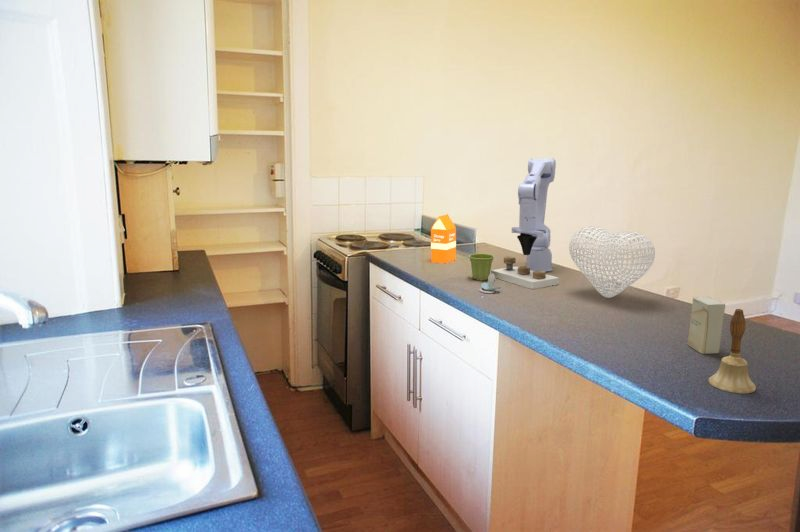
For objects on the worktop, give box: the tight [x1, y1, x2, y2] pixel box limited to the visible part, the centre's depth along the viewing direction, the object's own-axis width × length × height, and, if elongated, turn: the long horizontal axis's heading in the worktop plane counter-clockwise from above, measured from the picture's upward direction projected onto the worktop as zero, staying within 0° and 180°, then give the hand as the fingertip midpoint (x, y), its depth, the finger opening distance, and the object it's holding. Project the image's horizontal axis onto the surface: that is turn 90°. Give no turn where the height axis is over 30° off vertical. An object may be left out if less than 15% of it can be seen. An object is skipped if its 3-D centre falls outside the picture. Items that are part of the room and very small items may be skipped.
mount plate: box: [490, 266, 560, 290], centre depth 202 cm, size 12×23×2 cm, turn 29°
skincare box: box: [687, 296, 726, 355], centre depth 130 cm, size 6×4×12 cm
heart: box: [568, 225, 656, 299], centre depth 175 cm, size 28×16×22 cm, turn 31°
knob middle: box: [518, 265, 530, 275], centre depth 202 cm, size 4×4×5 cm
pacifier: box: [478, 273, 501, 294], centre depth 187 cm, size 7×6×6 cm
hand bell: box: [708, 308, 757, 395], centre depth 110 cm, size 8×8×16 cm
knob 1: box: [503, 255, 517, 270], centre depth 208 cm, size 4×4×5 cm
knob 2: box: [533, 270, 546, 279], centre depth 195 cm, size 4×4×5 cm
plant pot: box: [468, 253, 495, 281], centre depth 206 cm, size 9×9×9 cm
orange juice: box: [430, 213, 457, 264], centre depth 238 cm, size 8×9×20 cm
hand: (526, 254), depth 199 cm, fingers closed
